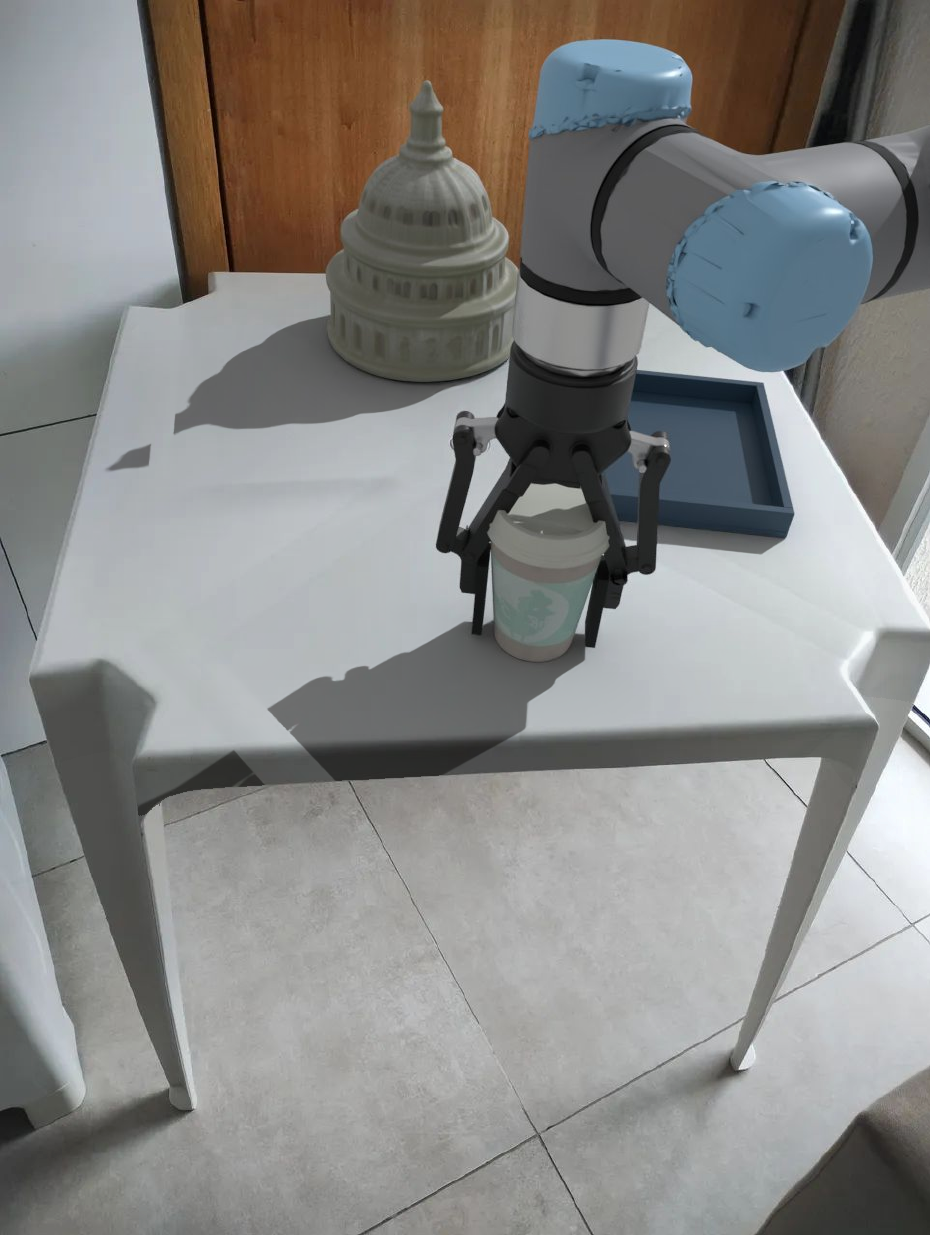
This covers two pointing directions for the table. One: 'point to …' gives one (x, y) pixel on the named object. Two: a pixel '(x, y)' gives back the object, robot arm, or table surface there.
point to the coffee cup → (543, 570)
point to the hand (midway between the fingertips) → (533, 628)
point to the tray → (707, 455)
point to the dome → (422, 266)
